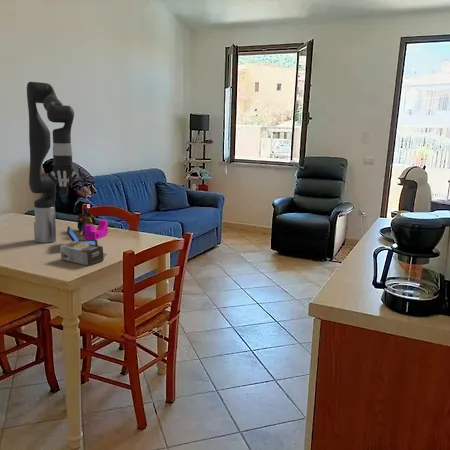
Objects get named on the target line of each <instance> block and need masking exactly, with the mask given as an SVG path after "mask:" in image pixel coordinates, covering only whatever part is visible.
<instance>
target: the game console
mask: <svg viewBox="0 0 450 450" xmlns="http://www.w3.org/2000/svg"><path fill="white" fill-rule="evenodd" d="M66 229H67V230H66V233H67V236H69V238H70V240H71V241H72V242H73V241H79V242H83V243H88V244H92V245H97V246H99V244H98V239H97V240H90V239H80V238H79V237H78V235H76V234H75V232H74V231H73V230H72V228H71V227H70V226H67V228H66Z"/></svg>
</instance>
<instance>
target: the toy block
mask: <svg viewBox="0 0 450 450" xmlns="http://www.w3.org/2000/svg"><path fill="white" fill-rule="evenodd" d="M94 225H95V224H91V225H89V224H87V225H84V232H85V237H84V240H97V241H98V240H99V239H102V238H105V237H107V235H108V233H109V226H108V225H109V221H108V220H103V219H102V220H101V219H100V220H99V222H98V225H97V228H95V226H94Z"/></svg>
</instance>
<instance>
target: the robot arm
mask: <svg viewBox="0 0 450 450" xmlns="http://www.w3.org/2000/svg"><path fill="white" fill-rule="evenodd" d="M26 100H27V109H28V111H27V112H28V137H29V138H28V141H29V142H28V143H29V175H28V176H29V177H28V184H29V189H30V191H31V192H32V194H42V195H41V196H40V197H39V198H38V199H36V200H35V201H34V202H33V203H34V219H35V221H34V222H33V234H34V242H35V243H36V242H37V243H40V244H43V243H45V244H46V243H53V242H56V241H57V228H56V227H57V225H56V223H57V222H56V205H55V203H56V201H57V199H56V197H57V194H56V192H57V191H56V190H57V189H56V188H57V187H56V186H59V191H60V192H59V193H60V195H61V196H65V197H66V196H67V195H68V194H69V186H71V185H73V184H74V183H75V181H76V180H77V178H78V177H79V176H80V174H79V173H77V172H75V170H74V167H73V150H72V144H71V143H72V142H71V141H72V140H71V139H72V137H71V134H72V133H71V132H72V128H73V127H72V126H73V123H74V118H75V111H74V108H73V107H72V106H70V105H64V104H63V103H62V102H61V100H60V99H58V97H57V94H56V92H55V89H54V87H53V86H52V85H51V84H50V83H47V82H39V81H37V82H36V81H28V82H27V85H26ZM37 104H42V105H43V107H44V110H45V111H46V115H47V116H46V117H47V119H48V121H50V122H51V123H55V124H56V123H57V124H58V123H60V124H63V126H62V127H59V128H53V130H52V160H53V161H52V163H53V168H52V171H50V172H49V173H42V172H41V171H42V165H43V163H44V160H45V158H46V157H47V156H48V152H49V151H50V149H51V131H50V130H49V128H48V126H47V125H46V123H45V121H44V120H43V118H42V117H41V115H40V113H39V111H38V108H37ZM70 177H71V178H70Z"/></svg>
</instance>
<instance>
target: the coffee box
mask: <svg viewBox="0 0 450 450" xmlns="http://www.w3.org/2000/svg"><path fill="white" fill-rule="evenodd" d="M59 250H60V259H61V260H64V261H68V262H72V263H75V264H79V265H83V266H87V267H90V266H93V265H95V264H98V263H100V262H103V261H104V260H105V259H104V258H105V257H103V253H104V248H103V246H102V245H101V246H100V245H98V246H97V245H92V244H88V243H83V242H79V241H73V240H72V241H71V242H67V243H65V244H61V245H59Z"/></svg>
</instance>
